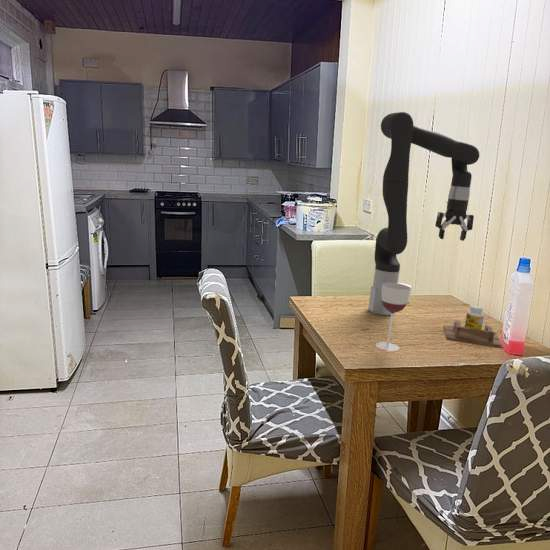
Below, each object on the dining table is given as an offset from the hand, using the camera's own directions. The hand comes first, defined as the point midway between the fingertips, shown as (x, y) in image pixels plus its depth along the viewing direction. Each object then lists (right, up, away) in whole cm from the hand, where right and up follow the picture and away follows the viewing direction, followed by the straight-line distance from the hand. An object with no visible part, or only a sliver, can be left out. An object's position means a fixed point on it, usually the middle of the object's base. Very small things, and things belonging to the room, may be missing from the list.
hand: (451, 239), depth 200 cm
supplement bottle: (0, -35, -22) cm, 41 cm away
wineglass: (-34, -37, -38) cm, 63 cm away
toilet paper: (-16, -25, +22) cm, 37 cm away
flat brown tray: (-1, -36, -22) cm, 42 cm away
